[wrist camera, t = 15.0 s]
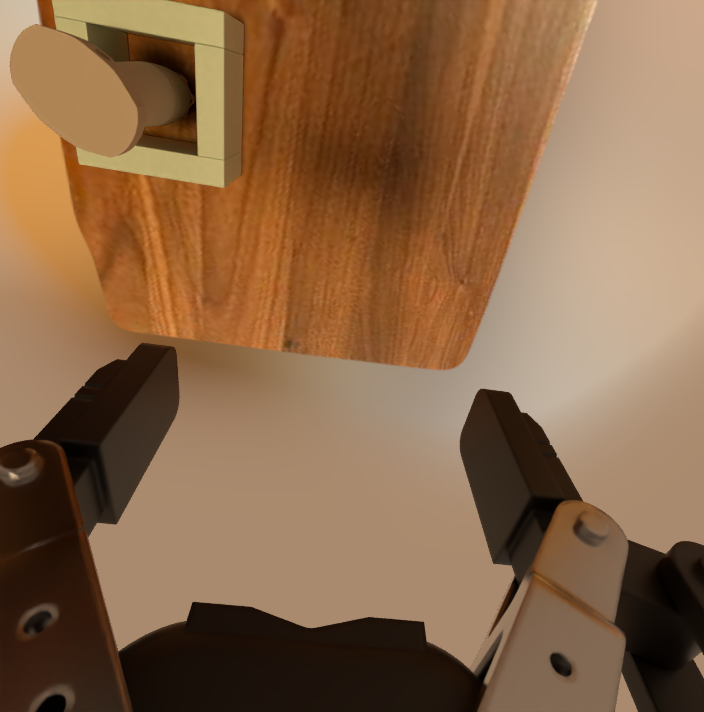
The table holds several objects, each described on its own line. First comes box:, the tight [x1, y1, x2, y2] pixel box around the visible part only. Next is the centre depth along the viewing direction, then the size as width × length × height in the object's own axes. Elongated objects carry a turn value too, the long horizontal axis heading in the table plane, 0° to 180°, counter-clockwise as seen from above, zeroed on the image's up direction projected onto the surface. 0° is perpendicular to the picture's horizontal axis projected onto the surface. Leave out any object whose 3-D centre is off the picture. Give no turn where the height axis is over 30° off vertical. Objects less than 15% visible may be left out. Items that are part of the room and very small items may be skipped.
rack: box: [52, 0, 244, 188], centre depth 33 cm, size 11×11×6 cm
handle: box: [10, 24, 195, 158], centre depth 29 cm, size 5×6×15 cm
